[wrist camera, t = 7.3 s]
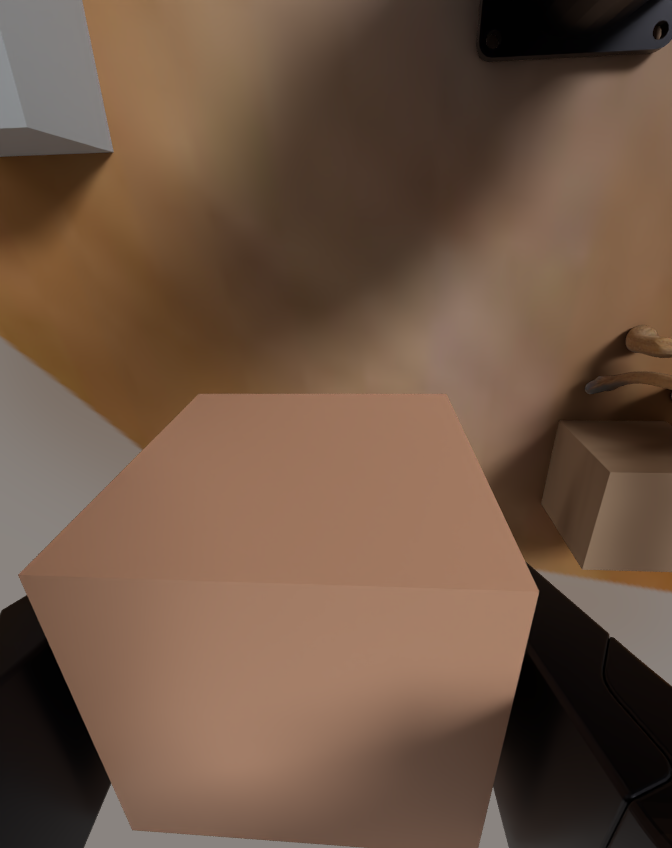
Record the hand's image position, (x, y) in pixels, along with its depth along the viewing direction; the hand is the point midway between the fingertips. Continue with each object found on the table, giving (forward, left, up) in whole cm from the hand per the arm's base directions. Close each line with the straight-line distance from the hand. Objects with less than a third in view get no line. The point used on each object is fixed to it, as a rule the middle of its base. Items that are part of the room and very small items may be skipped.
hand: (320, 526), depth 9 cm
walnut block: (-13, +6, -13) cm, 19 cm away
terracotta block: (0, 0, -1) cm, 1 cm away
